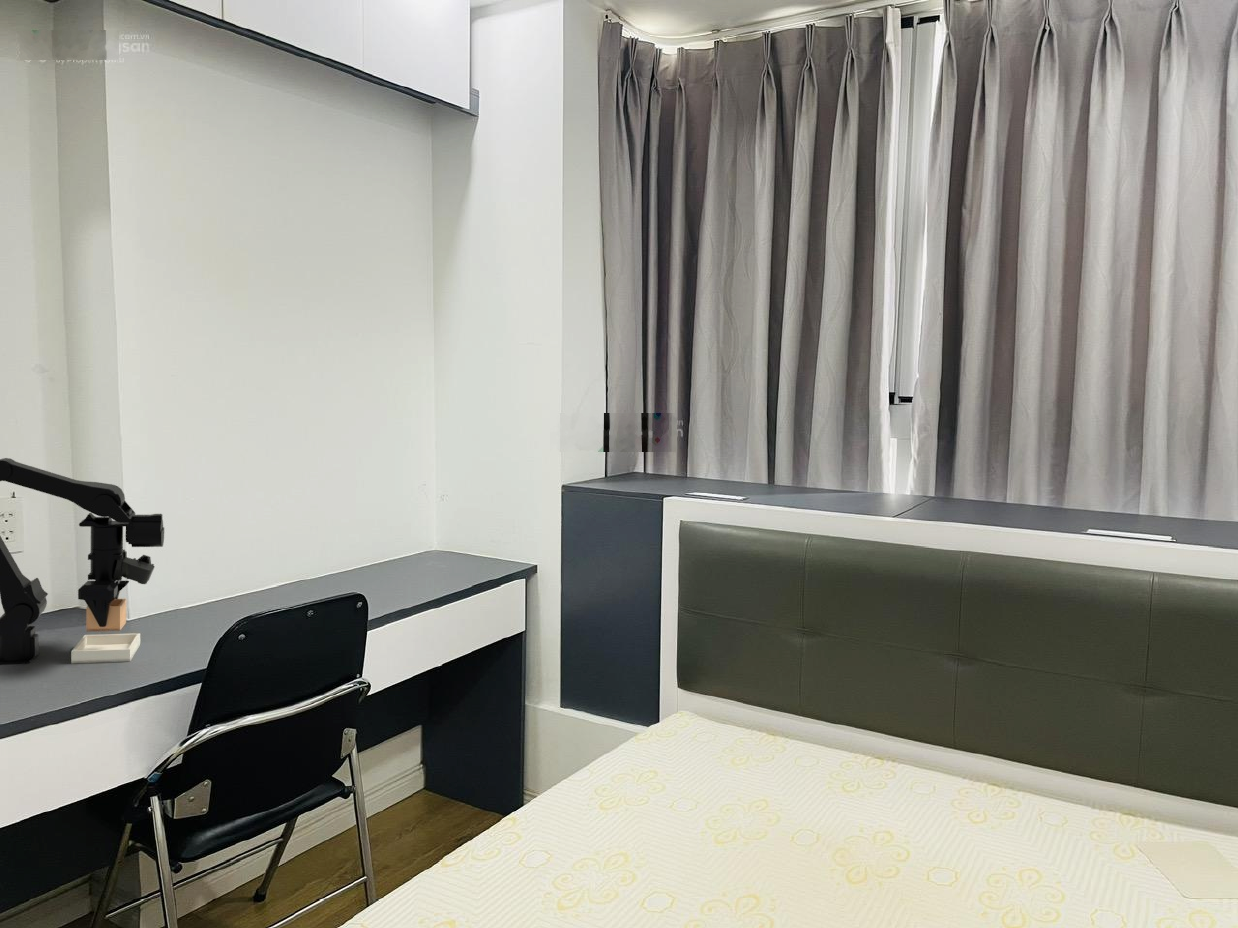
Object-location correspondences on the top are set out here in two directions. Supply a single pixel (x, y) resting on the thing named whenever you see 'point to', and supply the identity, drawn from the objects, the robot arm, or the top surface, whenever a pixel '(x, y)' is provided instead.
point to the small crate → (109, 617)
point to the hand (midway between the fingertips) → (106, 621)
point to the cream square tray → (105, 648)
